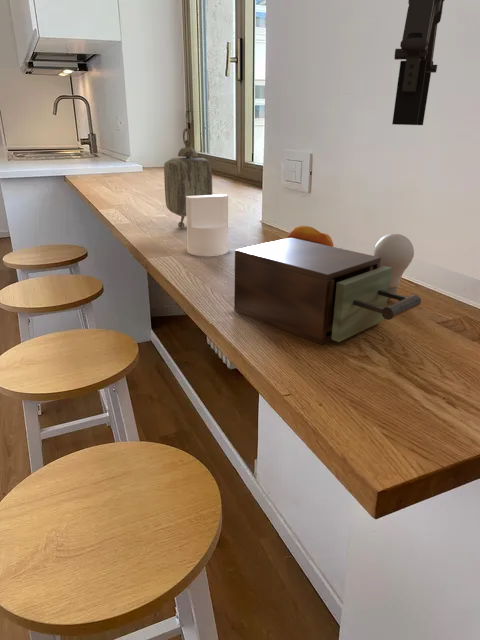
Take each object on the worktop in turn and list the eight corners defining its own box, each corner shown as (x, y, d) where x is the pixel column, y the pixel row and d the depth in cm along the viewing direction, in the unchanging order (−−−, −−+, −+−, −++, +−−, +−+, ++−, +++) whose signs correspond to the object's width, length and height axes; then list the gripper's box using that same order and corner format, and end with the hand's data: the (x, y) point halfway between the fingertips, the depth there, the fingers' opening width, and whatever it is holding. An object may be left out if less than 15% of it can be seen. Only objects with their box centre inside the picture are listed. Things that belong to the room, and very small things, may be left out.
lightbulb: (396, 309, 78) (405, 240, 73) (361, 300, 81) (368, 233, 77) (413, 300, 82) (423, 234, 78) (379, 291, 86) (387, 228, 81)
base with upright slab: (218, 244, 115) (218, 192, 111) (234, 253, 108) (235, 197, 103) (181, 248, 112) (180, 194, 107) (195, 258, 104) (194, 200, 100)
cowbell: (212, 231, 129) (211, 128, 119) (178, 234, 126) (175, 128, 116) (196, 221, 141) (194, 127, 132) (165, 223, 138) (161, 127, 129)
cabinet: (373, 320, 73) (381, 257, 69) (321, 344, 65) (327, 274, 61) (287, 293, 84) (290, 237, 80) (234, 311, 76) (234, 249, 72)
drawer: (423, 332, 67) (432, 276, 64) (378, 357, 60) (386, 296, 57) (300, 293, 81) (303, 247, 78) (252, 310, 74) (253, 259, 71)
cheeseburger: (265, 274, 93) (273, 221, 91) (291, 275, 102) (299, 226, 100) (314, 284, 88) (323, 227, 86) (337, 283, 97) (346, 232, 95)
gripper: (411, -46, 67) (389, 124, 75) (392, -128, 45) (364, 123, 53) (471, -50, 64) (441, 125, 72) (482, -140, 42) (438, 125, 50)
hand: (408, 125), depth 63 cm, fingers open, 13 cm apart
